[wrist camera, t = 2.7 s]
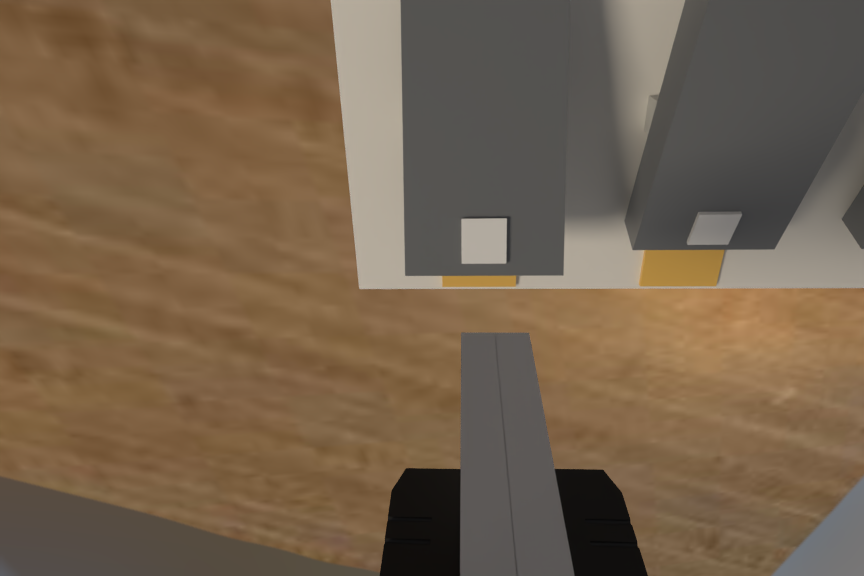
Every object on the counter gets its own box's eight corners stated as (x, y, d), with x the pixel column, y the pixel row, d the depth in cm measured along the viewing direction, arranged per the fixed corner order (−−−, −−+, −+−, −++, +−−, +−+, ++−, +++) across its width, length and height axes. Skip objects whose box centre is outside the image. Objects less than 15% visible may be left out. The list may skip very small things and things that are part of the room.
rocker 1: (405, -6, 19) (399, -28, 17) (561, -11, 18) (571, -33, 17) (409, 270, 20) (404, 276, 18) (555, 269, 20) (564, 276, 18)
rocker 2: (695, -36, 15) (714, -9, 14) (891, -42, 15) (928, -16, 14) (624, 220, 22) (633, 253, 21) (758, 219, 22) (776, 252, 20)
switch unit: (348, -97, 22) (310, -122, 16) (1069, -124, 20) (1289, -162, 15) (375, 241, 28) (354, 303, 23) (921, 237, 27) (1037, 302, 22)
